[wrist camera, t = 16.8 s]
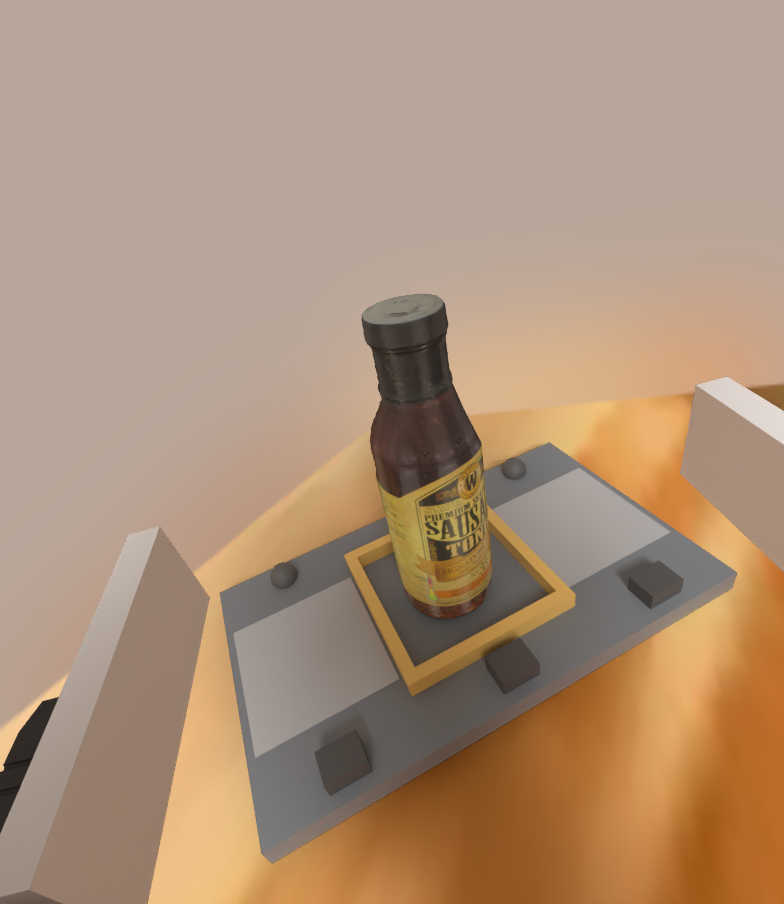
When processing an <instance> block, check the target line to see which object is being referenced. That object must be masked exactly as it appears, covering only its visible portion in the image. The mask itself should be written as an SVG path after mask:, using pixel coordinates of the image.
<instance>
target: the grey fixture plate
mask: <svg viewBox="0 0 784 904" xmlns="http://www.w3.org/2000/svg"><path fill="white" fill-rule="evenodd" d="M484 478H485V488H486V500H487V509H488V524H489V535H490V545H491V558H492V576H491V581H490V587H489V590H488V593H487V596H486V598H485V599H484V602H483V603H482V604H481V605H479V606H478V607H477V609H476V610H473V611H471V612H470V613H468V614H465V615H463V616H459V617H456V618H452V619H437V618H433V617H430V616H428V615H425V614H423V613H421V612H420V611H419V610H418V609H416V608H415V606H414V605H413V604H412V602H411V601H410V599H409V598H408V596H407V594H406V592H405V588H404V586H403V583H402V581H401V578H400V574H399V570H398V566H397V562H396V557H395V553H394V549H393V545H392V541H391V536H390V532H389V528H388V523H387V519H386V517H385V518H382V519H380V520H378V521H376V522H374V523H371V524H369V525H367V526H365V527H363V528H361V529H358V530H356V531H354V532H352V533H350V534H347V535H345V536H343V537H341V538H339V539H336V540H334V541H332V542H330V543H328V544H325V545H323V546H321V547H319V548H317V549H315V550H312V551H310V552H308V553H306V554H304V555H301V556H299V557H297V558H295V559H293V560H290V561H288V562H286V563H279V564H277V565H276V566H275V567H274V568H273V569H271V570H269V571H266V572H264V573H262V574H260V575H258V576H255V577H253V578H251V579H249V580H247V581H244V582H242V583H240V584H238V585H236V586H234V587H231V588H229V589H227V590H225V591H223V592H220V597H221V603H222V610H223V616H224V622H225V628H226V635H227V641H228V647H229V653H230V660H231V666H232V672H233V678H234V685H235V691H236V697H237V704H238V710H239V716H240V722H241V729H242V735H243V741H244V747H245V754H246V760H247V766H248V772H249V779H250V785H251V791H252V797H253V804H254V810H255V816H256V822H257V829H258V835H259V841H260V847H261V854H262V855H263V856H264V857H265V858H267V859H268V860H269V861H270V862H271V863H274V862H276V861H277V860H279V859H281V858H282V857H284V856H286V855H287V854H289V853H291V852H292V851H294V850H296V849H297V848H299V847H301V846H302V845H304V844H306V843H307V842H309V841H311V840H312V839H314V838H316V837H317V836H319V835H321V834H322V833H324V832H326V831H327V830H329V829H331V828H332V827H334V826H336V825H337V824H339V823H341V822H342V821H344V820H346V819H347V818H349V817H351V816H352V815H354V814H356V813H357V812H359V811H361V810H362V809H364V808H366V807H368V806H369V805H371V804H373V803H374V802H376V801H378V800H379V799H381V798H383V797H384V796H386V795H388V794H389V793H391V792H393V791H394V790H396V789H398V788H399V787H401V786H403V785H404V784H406V783H408V782H409V781H411V780H413V779H414V778H416V777H418V776H419V775H421V774H423V773H424V772H426V771H428V770H429V769H431V768H433V767H434V766H436V765H438V764H439V763H441V762H443V761H444V760H446V759H448V758H449V757H451V756H453V755H454V754H456V753H458V752H459V751H461V750H463V749H464V748H466V747H468V746H469V745H471V744H473V743H474V742H476V741H478V740H479V739H481V738H483V737H484V736H486V735H488V734H489V733H491V732H493V731H494V730H496V729H498V728H499V727H501V726H503V725H504V724H506V723H508V722H509V721H511V720H513V719H514V718H516V717H518V716H519V715H521V714H523V713H524V712H526V711H528V710H529V709H531V708H533V707H534V706H536V705H538V704H539V703H541V702H543V701H544V700H546V699H548V698H549V697H551V696H553V695H554V694H556V693H558V692H559V691H561V690H563V689H564V688H566V687H568V686H570V685H571V684H573V683H575V682H576V681H578V680H580V679H581V678H583V677H585V676H586V675H588V674H590V673H591V672H593V671H595V670H596V669H598V668H600V667H601V666H603V665H605V664H606V663H608V662H610V661H611V660H613V659H615V658H616V657H618V656H620V655H621V654H623V653H625V652H626V651H628V650H630V649H631V648H633V647H635V646H636V645H638V644H640V643H641V642H643V641H645V640H646V639H648V638H650V637H651V636H653V635H655V634H656V633H658V632H660V631H661V630H663V629H665V628H666V627H668V626H670V625H671V624H673V623H675V622H676V621H678V620H680V619H681V618H683V617H685V616H686V615H688V614H690V613H691V612H693V611H695V610H696V609H698V608H700V607H701V606H703V605H705V604H706V603H708V602H710V601H711V600H713V599H715V598H716V597H718V596H720V595H721V594H723V593H725V592H726V591H728V590H730V589H731V588H733V584H734V581H735V578H736V575H737V572H736V571H734V570H733V569H731V568H730V567H728V566H727V565H726V564H724V563H723V562H721V561H720V560H718V559H717V558H715V557H714V556H713V555H711V554H710V553H708V552H707V551H705V550H704V549H702V548H701V547H700V546H698V545H697V544H695V543H694V542H692V541H691V540H689V539H688V538H687V537H685V536H684V535H682V534H681V533H679V532H678V531H676V530H675V529H674V528H672V527H671V526H669V525H668V524H666V523H665V522H663V521H662V520H661V519H659V518H658V517H656V516H655V515H653V514H652V513H650V512H649V511H648V510H646V509H645V508H643V507H642V506H640V505H639V504H638V503H636V502H635V501H633V500H632V499H630V498H629V497H627V496H626V495H625V494H623V493H622V492H620V491H619V490H617V489H616V488H614V487H613V486H612V485H610V484H609V483H607V482H606V481H604V480H603V479H601V478H600V477H599V476H597V475H596V474H594V473H593V472H591V471H590V470H588V469H587V468H586V467H584V466H583V465H581V464H580V463H578V462H577V461H575V460H574V459H573V458H571V457H570V456H568V455H567V454H565V453H564V452H562V451H561V450H560V449H558V448H557V447H555V446H554V445H552V444H551V443H547V444H544V445H542V446H540V447H538V448H536V449H533V450H531V451H529V452H527V453H525V454H522V455H520V456H518V457H516V458H510V459H508V460H506V461H505V463H503V464H501V465H498V466H496V467H494V468H492V469H490V470H487V471H485V472H484Z"/></svg>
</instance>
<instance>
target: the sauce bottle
mask: <svg viewBox="0 0 784 904" xmlns="http://www.w3.org/2000/svg"><path fill="white" fill-rule="evenodd" d="M362 325H363V329H364V337H365V341H366V342H367V344H368V345H369V346H370V347H371V349H372V351H373V357H374V361H375V368H376V372H377V375H378V376H377V378H378V381H379V384H378V390H379V392H380V395H381V398H382V400H381V401H380V405H379V408H378V411H377V413H376V417H375V418H374V420H373V424H372V427H371V436H370V444H371V450H372V454H373V458H374V461H375V466H376V479H377V483H378V487H379V491H380V495H381V499H382V503H383V507H384V511H385V515H386V519H387V523H388V528H389V532H390V536H391V541H392V545H393V549H394V553H395V557H396V562H397V566H398V570H399V574H400V578H401V581H402V583H403V586H404V588H405V592H406V594H407V596H408V598H409V599H410V601H411V602H412V604H413V605H414V606H415V608H416V609H418V610H419V611H420V612H421V613H423V614H425V615H428V616H430V617H433V618H437V619H452V618H456V617H459V616H463V615H465V614H468V613H470V612H471V611H473V610H476V609H477V607H478V606H479V605H481V604H482V603H483V602H484V599H485V598H486V596H487V593H488V590H489V587H490V581H491V576H492V558H491V545H490V535H489V524H488V509H487V500H486V488H485V478H484V468H483V456H482V445H481V441H480V439H479V437H478V435H477V433H476V432H475V430H474V428H473V426H472V424H471V422H470V420H469V418H468V416H467V414H466V413H465V410H464V409H463V406H462V404H461V402H460V399H459V397H458V395H457V392H456V390H455V388H454V386H453V384H452V374H451V371H450V369H449V363H448V353H447V346H446V333H447V328H448V321H447V315H446V308H445V303H444V302H443V300H441V298H439V297H437V296H436V295H431V294H414V295H406V296H400V297H395V298H391V299H388V300H384V301H382V302H379V303H376V304H375V305H373V306H372V307H369V308H367V309H366V310H365V311H364V312H363V314H362Z"/></svg>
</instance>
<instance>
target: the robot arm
mask: <svg viewBox="0 0 784 904" xmlns="http://www.w3.org/2000/svg"><path fill="white" fill-rule="evenodd" d="M680 474H681V475H682V476H683V477H684V478H685V479H686V480H687V481H688V482H689V483H690V484H691V485H692V486H694V487H695V488H696V489H697V490H698V491H699V492H700V493H701V494H702V495H703V496H704V497H705V498H706V499H707V500H708V501H709V502H710V503H711V504H713V505H714V506H715V507H716V508H717V509H718V510H719V511H720V512H721V513H722V514H723V515H724V516H725V517H726V518H727V519H728V520H729V521H730V522H732V523H733V524H734V525H735V526H736V527H737V528H738V529H739V530H740V531H741V532H742V533H743V534H744V535H745V536H746V537H747V538H748V539H749V540H751V541H752V542H753V543H754V544H755V545H756V546H757V547H758V548H759V549H760V550H761V551H762V552H763V553H764V554H765V555H766V556H767V557H768V558H770V559H771V560H772V561H773V562H774V563H775V564H776V565H777V566H778V567H779V568H780V569H781V570H782V571H783V572H784V411H783V410H781V409H780V408H778V407H776V406H775V405H773V404H771V403H770V402H768V401H766V400H765V399H763V398H762V397H760V396H758V395H757V394H755V393H753V392H752V391H750V390H748V389H747V388H745V387H744V386H742V385H740V384H739V383H737V382H735V381H734V380H732V379H730V378H729V377H724V378H720V379H716V380H712V381H709V382H705V383H701V384H697V385H696V387H695V392H694V398H693V404H692V409H691V415H690V421H689V426H688V432H687V437H686V443H685V449H684V454H683V460H682V465H681V471H680ZM209 599H210V597H209V596H208V594H207V593H206V591H205V590H204V588H203V587H202V586H201V584H200V583H199V581H198V580H197V578H196V577H195V576H194V574H193V573H192V571H191V570H190V568H189V567H188V566H187V564H186V563H185V561H184V560H183V558H182V557H181V556H180V554H179V553H178V551H177V550H176V548H175V547H174V546H173V545H172V543H171V541H170V540H169V538H168V537H167V536H166V534H165V533H164V532H163V530H162V528H161V527H160V526H159V527H155V528H151V529H147V530H143V531H140V532H136V533H132V534H129V535H128V538H127V540H126V542H125V544H124V547H123V549H122V551H121V554H120V556H119V558H118V561H117V563H116V566H115V568H114V570H113V572H112V575H111V577H110V579H109V582H108V584H107V587H106V589H105V591H104V593H103V596H102V598H101V600H100V603H99V605H98V607H97V610H96V612H95V614H94V617H93V619H92V621H91V624H90V626H89V628H88V631H87V633H86V635H85V638H84V640H83V642H82V645H81V647H80V649H79V652H78V654H77V657H76V659H75V661H74V663H73V666H72V668H71V670H70V673H69V675H68V677H67V680H66V682H65V684H64V687H63V689H62V691H61V694H60V696H59V697H57V698H53V699H49V700H46V701H42V703H41V704H40V705H39V707H38V708H37V709H36V711H35V712H34V713H33V714H32V716H31V717H30V718H29V720H28V721H27V722H26V724H25V725H24V726H23V727H22V729H21V730H20V731H19V733H18V735H17V737H16V739H15V741H14V744H13V746H12V748H11V750H10V752H9V754H8V756H7V759H6V761H5V763H4V765H3V766H4V770H3V771H2V772H0V904H148V899H149V894H150V889H151V884H152V879H153V874H154V870H155V865H156V860H157V855H158V850H159V845H160V840H161V835H162V830H163V825H164V820H165V815H166V810H167V805H168V801H169V796H170V791H171V786H172V781H173V776H174V771H175V766H176V761H177V756H178V751H179V746H180V741H181V737H182V732H183V727H184V722H185V717H186V712H187V707H188V702H189V697H190V692H191V687H192V682H193V677H194V672H195V668H196V663H197V658H198V653H199V648H200V643H201V638H202V633H203V628H204V623H205V618H206V613H207V608H208V604H209Z"/></svg>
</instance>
